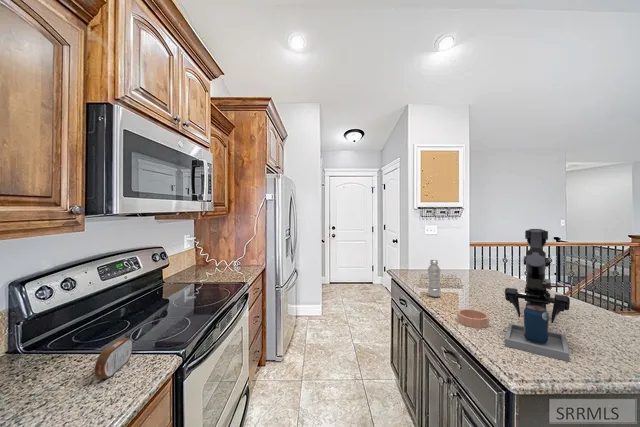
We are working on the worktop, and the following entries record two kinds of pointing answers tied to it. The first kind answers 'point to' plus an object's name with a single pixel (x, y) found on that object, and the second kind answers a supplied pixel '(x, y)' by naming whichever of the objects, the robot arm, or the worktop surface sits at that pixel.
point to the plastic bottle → (434, 279)
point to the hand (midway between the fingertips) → (535, 319)
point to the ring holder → (473, 318)
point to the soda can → (536, 324)
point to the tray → (551, 348)
